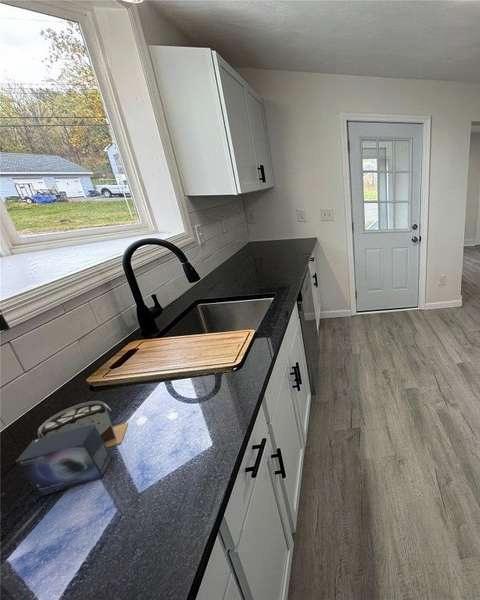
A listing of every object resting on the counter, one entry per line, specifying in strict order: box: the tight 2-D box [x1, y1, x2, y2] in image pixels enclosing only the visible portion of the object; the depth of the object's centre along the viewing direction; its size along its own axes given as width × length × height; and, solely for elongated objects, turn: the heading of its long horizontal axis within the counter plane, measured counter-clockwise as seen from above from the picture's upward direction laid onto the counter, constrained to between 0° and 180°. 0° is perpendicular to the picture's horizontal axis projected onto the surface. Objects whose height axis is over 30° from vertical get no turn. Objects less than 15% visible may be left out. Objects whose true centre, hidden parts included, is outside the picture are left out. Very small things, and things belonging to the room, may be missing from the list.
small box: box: [15, 424, 114, 498], centre depth 67 cm, size 11×6×10 cm, turn 114°
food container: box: [37, 400, 116, 444], centre depth 76 cm, size 12×6×10 cm, turn 133°
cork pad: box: [105, 422, 129, 449], centre depth 78 cm, size 13×8×1 cm, turn 119°
